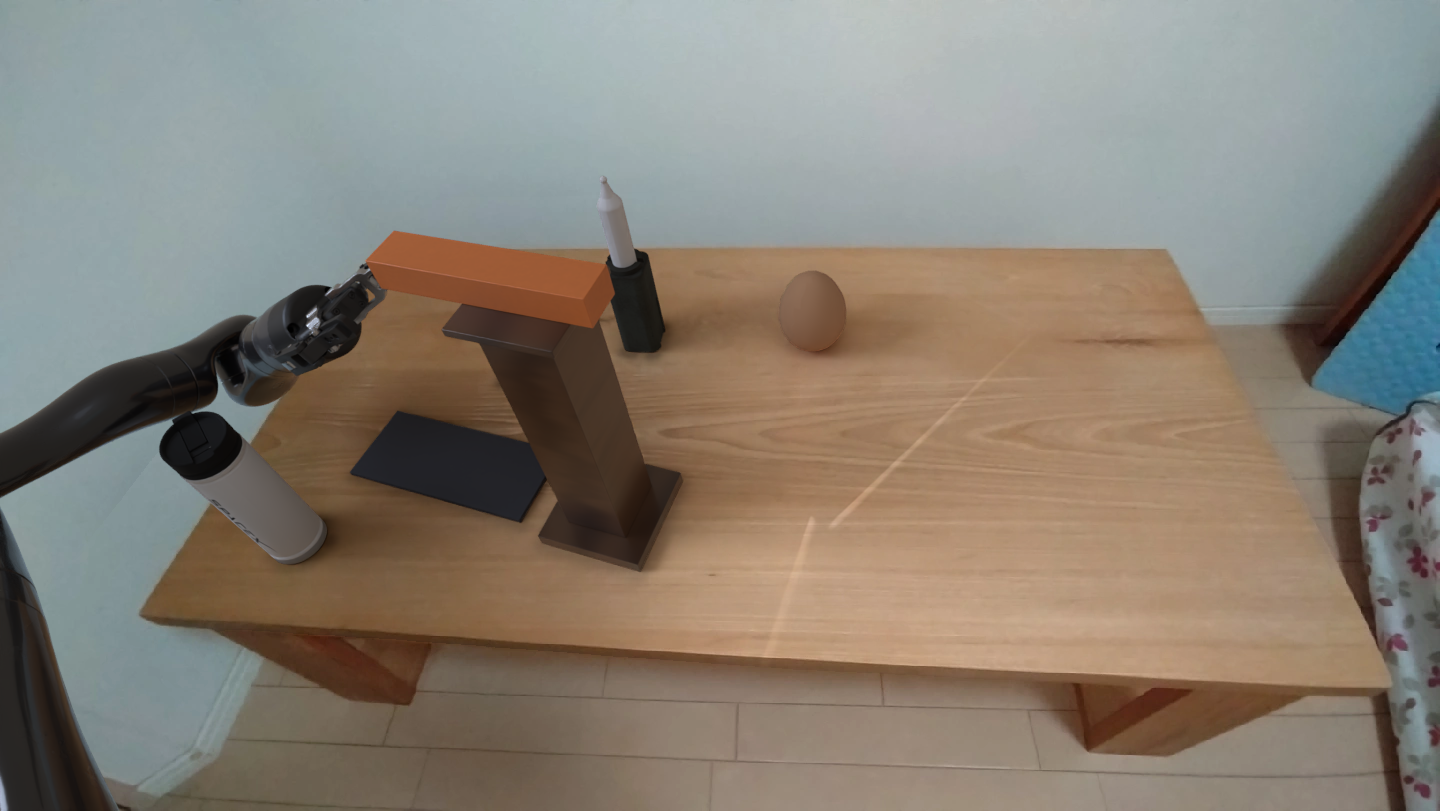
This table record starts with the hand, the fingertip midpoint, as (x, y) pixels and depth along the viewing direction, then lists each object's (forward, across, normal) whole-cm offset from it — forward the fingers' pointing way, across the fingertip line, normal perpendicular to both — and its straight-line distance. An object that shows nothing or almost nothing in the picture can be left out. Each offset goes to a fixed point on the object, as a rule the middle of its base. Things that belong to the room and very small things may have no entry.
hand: (380, 292), depth 69 cm
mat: (-19, -1, -22) cm, 30 cm away
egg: (+12, -30, -41) cm, 52 cm away
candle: (-7, -26, -30) cm, 40 cm away
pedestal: (-1, 0, -33) cm, 33 cm away
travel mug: (-30, +14, -17) cm, 37 cm away
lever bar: (+13, 0, -4) cm, 13 cm away
